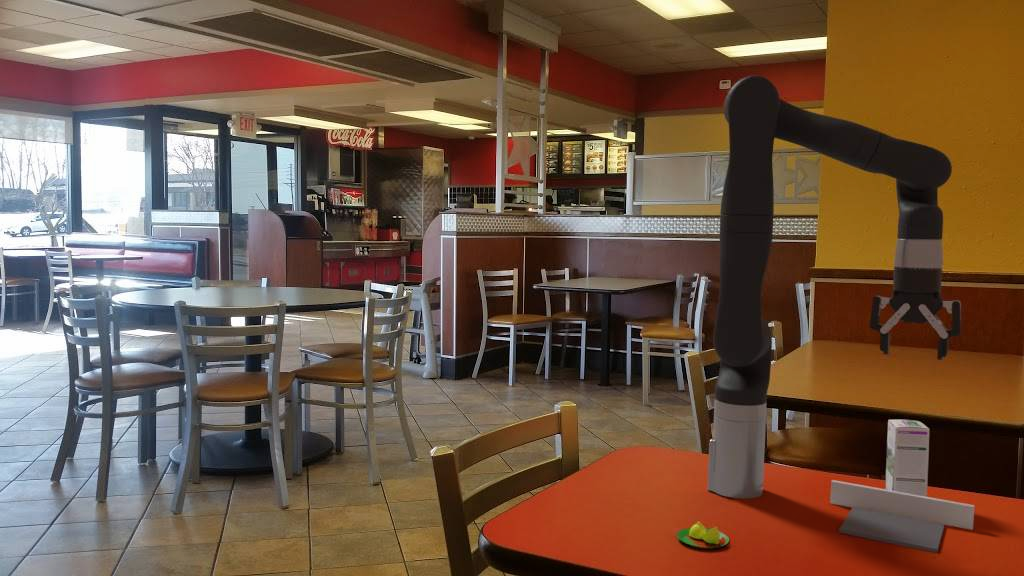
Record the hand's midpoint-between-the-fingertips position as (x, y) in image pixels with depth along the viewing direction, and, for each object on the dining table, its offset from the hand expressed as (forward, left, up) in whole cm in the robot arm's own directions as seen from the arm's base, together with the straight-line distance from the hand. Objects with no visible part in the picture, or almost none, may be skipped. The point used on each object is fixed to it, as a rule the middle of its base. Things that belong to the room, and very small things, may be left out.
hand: (912, 356), depth 140 cm
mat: (0, -16, -26) cm, 31 cm away
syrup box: (0, 0, -27) cm, 27 cm away
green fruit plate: (-24, -37, -27) cm, 52 cm away
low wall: (0, -8, -26) cm, 28 cm away
